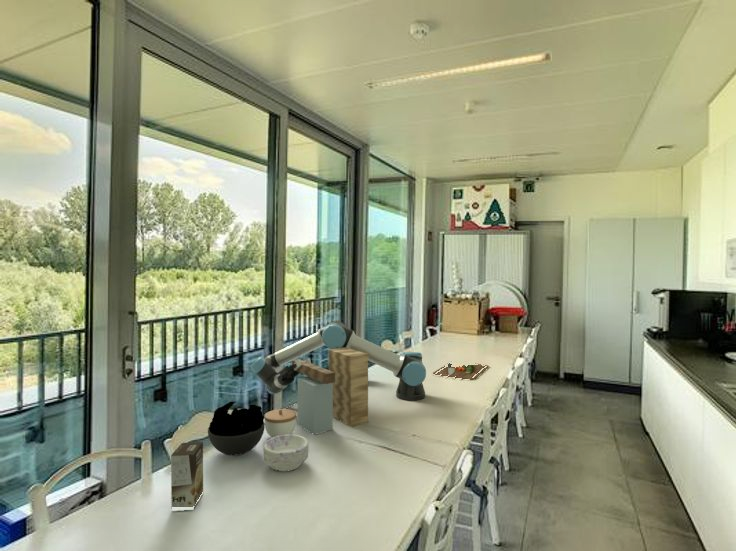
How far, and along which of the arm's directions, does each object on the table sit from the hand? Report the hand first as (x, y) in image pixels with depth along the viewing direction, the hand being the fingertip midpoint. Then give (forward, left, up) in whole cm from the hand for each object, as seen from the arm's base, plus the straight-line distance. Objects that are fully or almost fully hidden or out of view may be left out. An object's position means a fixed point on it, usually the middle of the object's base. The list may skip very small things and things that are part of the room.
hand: (305, 361), depth 191 cm
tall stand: (-16, -11, -26) cm, 32 cm away
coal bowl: (+6, +37, -27) cm, 46 cm away
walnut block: (-5, +3, -5) cm, 8 cm away
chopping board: (-46, -117, -27) cm, 128 cm away
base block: (-7, +4, -26) cm, 28 cm away
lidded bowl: (0, +18, -27) cm, 32 cm away
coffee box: (-3, +69, -27) cm, 74 cm away
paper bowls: (-16, +38, -27) cm, 49 cm away
